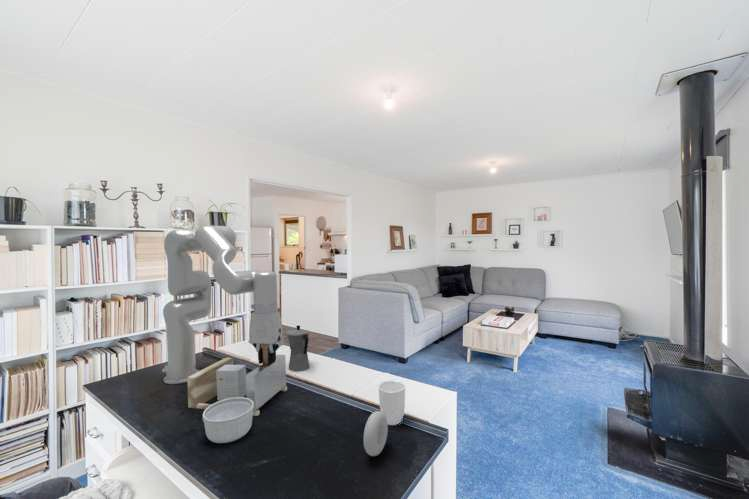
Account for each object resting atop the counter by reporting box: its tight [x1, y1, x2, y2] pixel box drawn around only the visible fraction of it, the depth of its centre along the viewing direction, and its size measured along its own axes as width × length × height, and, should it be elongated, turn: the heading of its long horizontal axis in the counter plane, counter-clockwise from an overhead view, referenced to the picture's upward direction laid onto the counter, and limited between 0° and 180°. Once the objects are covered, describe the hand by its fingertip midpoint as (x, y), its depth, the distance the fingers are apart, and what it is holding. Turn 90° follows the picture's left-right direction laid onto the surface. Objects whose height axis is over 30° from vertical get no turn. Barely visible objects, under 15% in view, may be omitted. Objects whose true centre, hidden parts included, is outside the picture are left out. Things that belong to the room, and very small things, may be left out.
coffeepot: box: [287, 325, 310, 372], centre depth 138 cm, size 15×9×18 cm, turn 37°
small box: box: [216, 364, 247, 402], centre depth 113 cm, size 8×6×10 cm
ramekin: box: [202, 396, 254, 444], centre depth 92 cm, size 13×13×7 cm
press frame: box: [187, 357, 288, 417], centre depth 112 cm, size 26×19×10 cm
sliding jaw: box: [245, 344, 287, 411], centre depth 109 cm, size 4×19×20 cm, turn 166°
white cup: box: [378, 380, 406, 426], centre depth 97 cm, size 8×8×10 cm
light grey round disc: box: [362, 410, 389, 457], centre depth 82 cm, size 10×4×10 cm, turn 155°
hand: (267, 362), depth 109 cm, fingers closed on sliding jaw, 3 cm apart
